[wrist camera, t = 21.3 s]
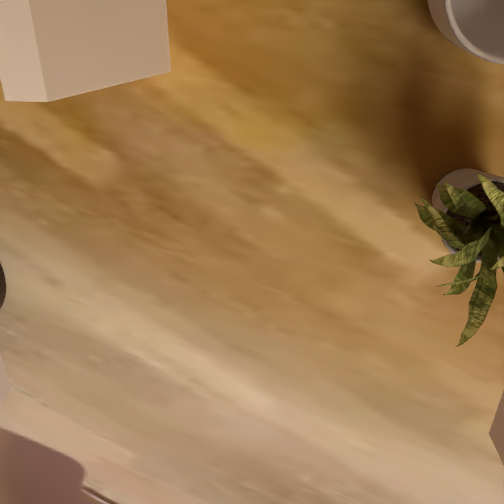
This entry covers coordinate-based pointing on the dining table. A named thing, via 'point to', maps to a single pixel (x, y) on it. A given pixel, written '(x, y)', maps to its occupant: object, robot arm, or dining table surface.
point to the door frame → (79, 46)
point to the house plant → (469, 235)
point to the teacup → (472, 25)
